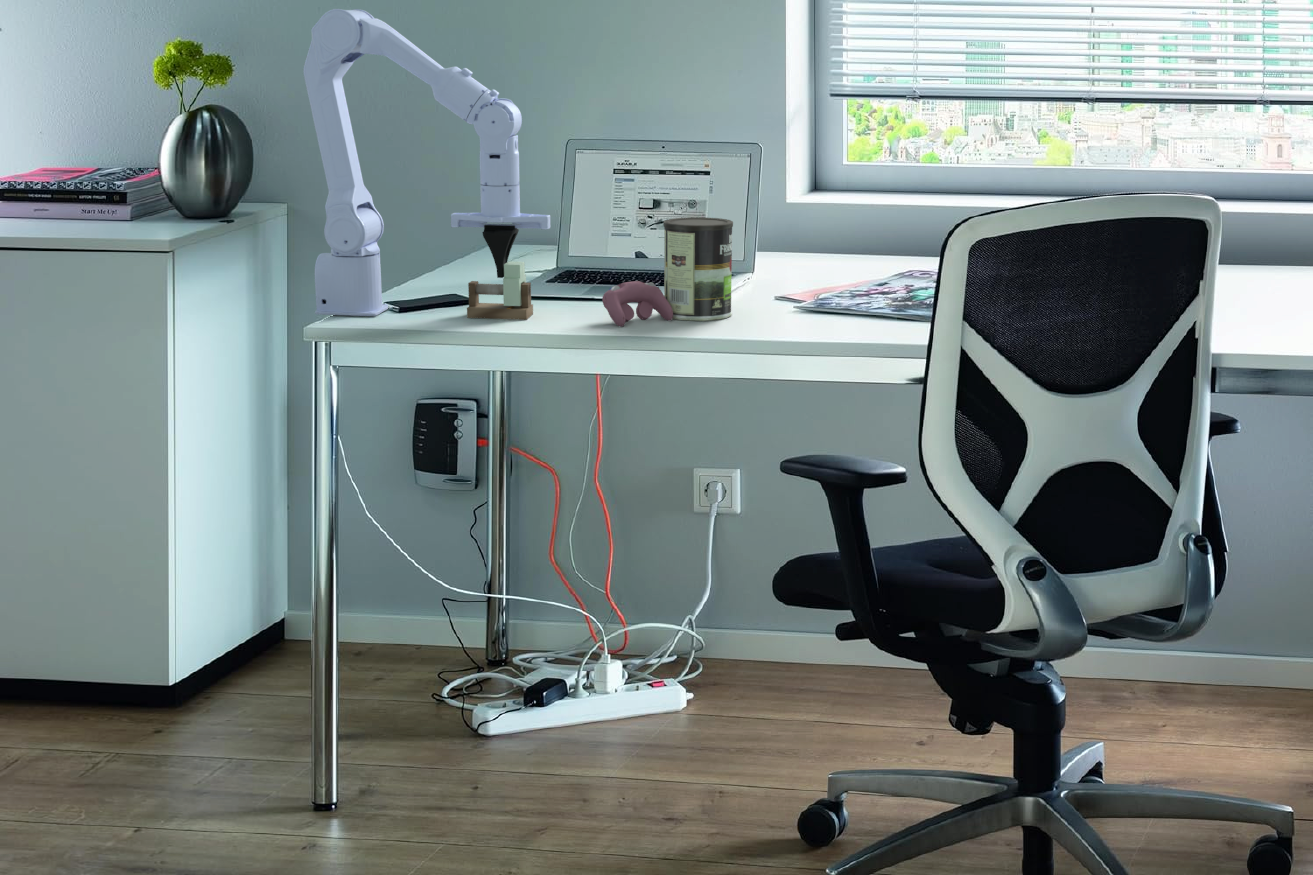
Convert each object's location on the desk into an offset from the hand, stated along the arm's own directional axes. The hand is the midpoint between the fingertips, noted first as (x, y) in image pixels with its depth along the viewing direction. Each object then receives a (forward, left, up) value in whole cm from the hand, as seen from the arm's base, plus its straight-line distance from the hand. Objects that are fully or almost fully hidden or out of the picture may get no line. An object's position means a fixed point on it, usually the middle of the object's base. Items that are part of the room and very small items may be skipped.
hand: (501, 276), depth 230 cm
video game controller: (+20, -1, -6) cm, 21 cm away
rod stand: (0, 0, -6) cm, 6 cm away
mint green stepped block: (+2, 0, -4) cm, 4 cm away
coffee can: (+29, +6, -6) cm, 30 cm away
